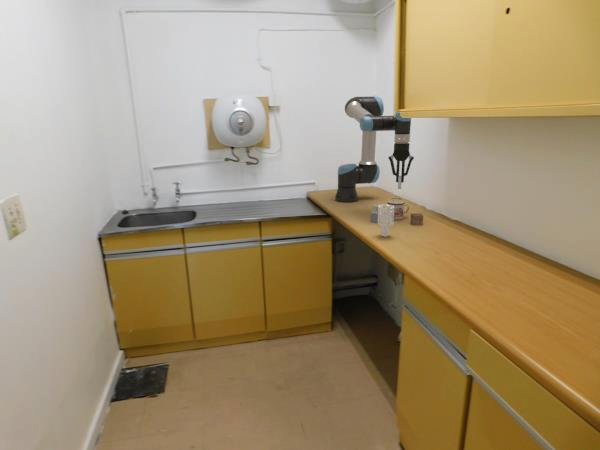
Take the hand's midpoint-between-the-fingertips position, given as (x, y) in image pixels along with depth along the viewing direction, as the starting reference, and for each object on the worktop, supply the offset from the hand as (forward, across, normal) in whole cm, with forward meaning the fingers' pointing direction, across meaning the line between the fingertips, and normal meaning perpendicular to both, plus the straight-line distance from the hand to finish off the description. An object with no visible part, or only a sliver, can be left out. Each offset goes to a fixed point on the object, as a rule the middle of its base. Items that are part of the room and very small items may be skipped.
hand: (399, 188), depth 197 cm
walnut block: (+16, +10, -9) cm, 21 cm away
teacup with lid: (+16, 0, 0) cm, 16 cm away
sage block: (+16, -11, +6) cm, 21 cm away
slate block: (+16, -10, -10) cm, 22 cm away
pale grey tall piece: (+17, -3, -34) cm, 38 cm away
